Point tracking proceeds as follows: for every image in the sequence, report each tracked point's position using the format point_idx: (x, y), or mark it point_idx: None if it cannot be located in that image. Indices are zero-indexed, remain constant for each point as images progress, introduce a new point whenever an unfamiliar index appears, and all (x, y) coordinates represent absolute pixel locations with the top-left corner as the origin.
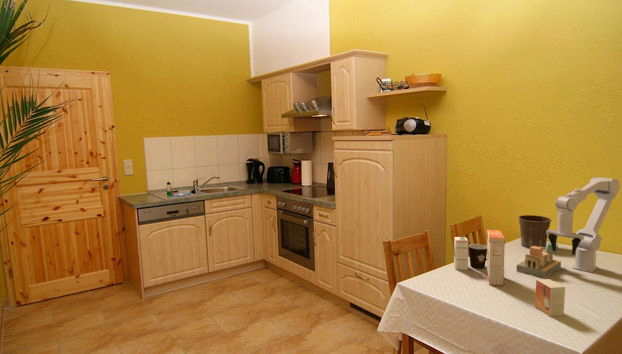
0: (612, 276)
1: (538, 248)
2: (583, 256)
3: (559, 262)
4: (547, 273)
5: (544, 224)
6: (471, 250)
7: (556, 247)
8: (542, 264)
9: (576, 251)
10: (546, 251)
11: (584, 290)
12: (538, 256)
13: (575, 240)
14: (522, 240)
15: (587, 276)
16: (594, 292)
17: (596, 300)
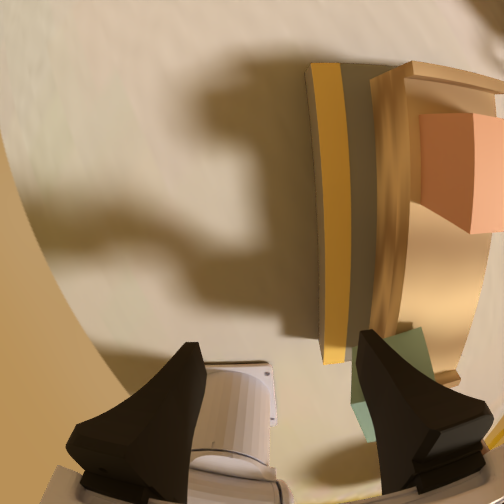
0: (117, 365)
1: (490, 151)
2: (213, 424)
3: (323, 341)
4: (312, 116)
5: None
6: None
7: (360, 393)
8: (381, 169)
9: (260, 450)
10: (418, 331)
11: (78, 73)
12: (430, 114)
13: (81, 447)
14: (482, 439)
15: (163, 299)
16: (48, 92)
17: (28, 24)
